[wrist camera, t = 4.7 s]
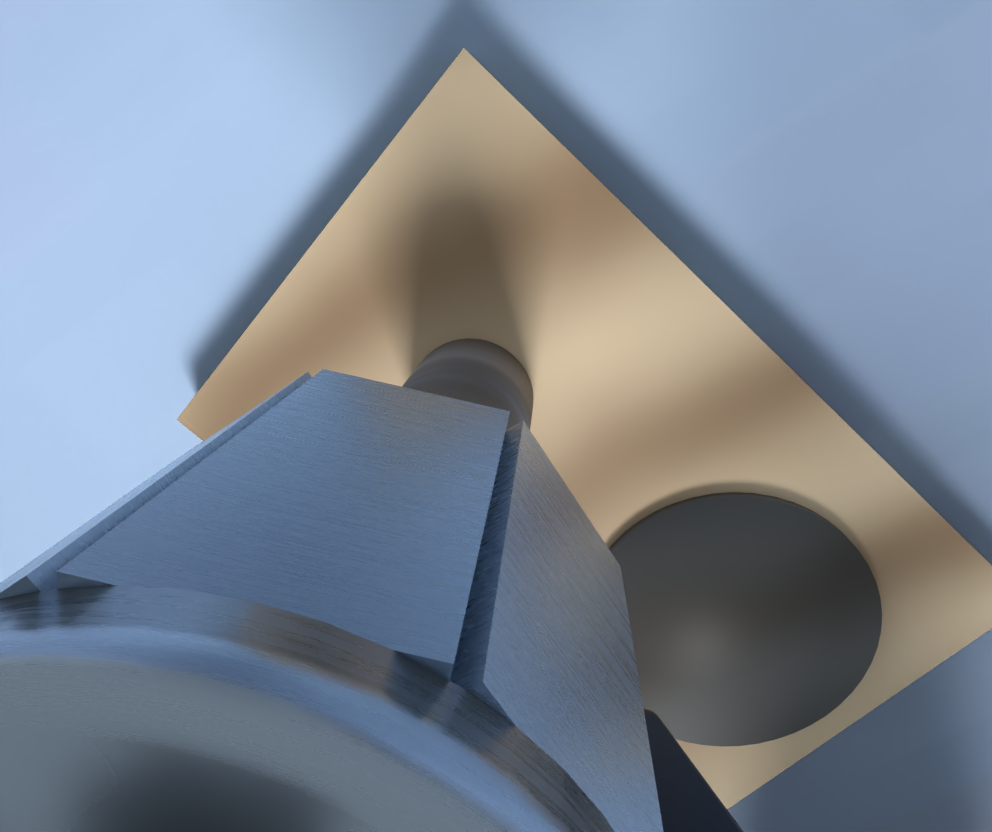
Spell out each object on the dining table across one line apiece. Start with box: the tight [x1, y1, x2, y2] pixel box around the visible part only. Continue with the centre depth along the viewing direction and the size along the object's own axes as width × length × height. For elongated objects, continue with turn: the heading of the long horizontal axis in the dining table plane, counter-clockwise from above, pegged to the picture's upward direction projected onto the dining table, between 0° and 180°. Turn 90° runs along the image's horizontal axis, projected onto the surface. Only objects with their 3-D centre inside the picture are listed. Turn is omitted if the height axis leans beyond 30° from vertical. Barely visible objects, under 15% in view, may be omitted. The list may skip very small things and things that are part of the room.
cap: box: [0, 369, 664, 832], centre depth 6 cm, size 6×6×6 cm
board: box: [177, 48, 992, 809], centre depth 17 cm, size 20×12×5 cm, turn 48°
